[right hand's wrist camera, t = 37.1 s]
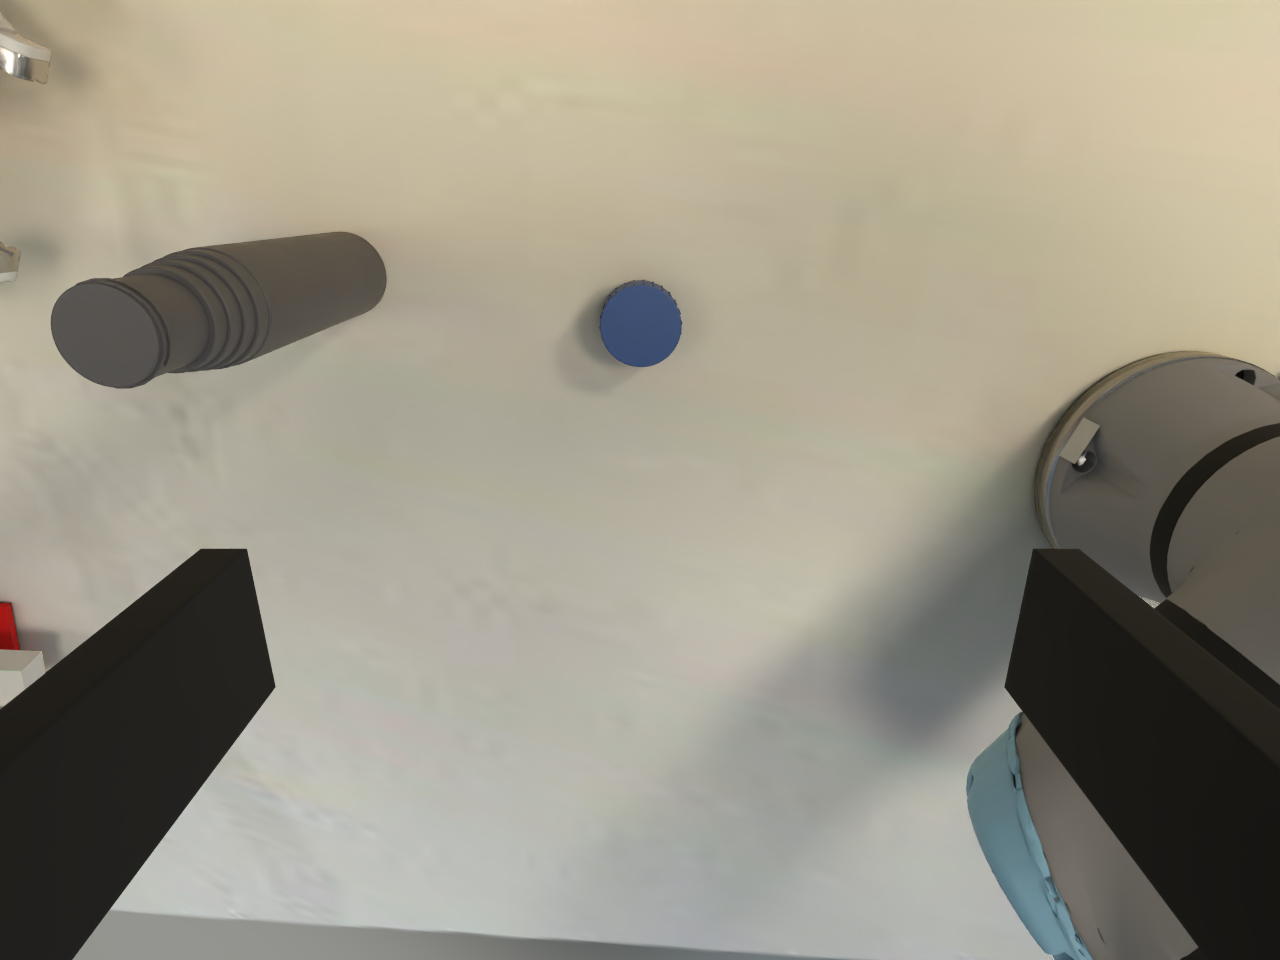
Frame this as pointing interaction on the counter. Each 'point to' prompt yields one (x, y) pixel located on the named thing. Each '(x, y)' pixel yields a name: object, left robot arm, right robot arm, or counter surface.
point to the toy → (15, 660)
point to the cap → (640, 323)
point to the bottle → (214, 306)
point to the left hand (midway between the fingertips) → (24, 171)
